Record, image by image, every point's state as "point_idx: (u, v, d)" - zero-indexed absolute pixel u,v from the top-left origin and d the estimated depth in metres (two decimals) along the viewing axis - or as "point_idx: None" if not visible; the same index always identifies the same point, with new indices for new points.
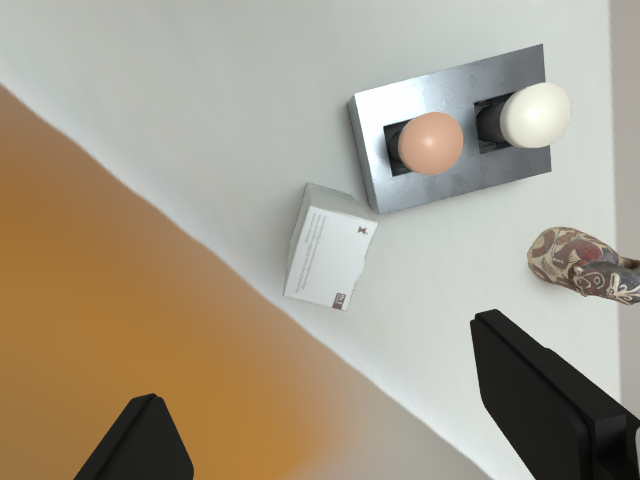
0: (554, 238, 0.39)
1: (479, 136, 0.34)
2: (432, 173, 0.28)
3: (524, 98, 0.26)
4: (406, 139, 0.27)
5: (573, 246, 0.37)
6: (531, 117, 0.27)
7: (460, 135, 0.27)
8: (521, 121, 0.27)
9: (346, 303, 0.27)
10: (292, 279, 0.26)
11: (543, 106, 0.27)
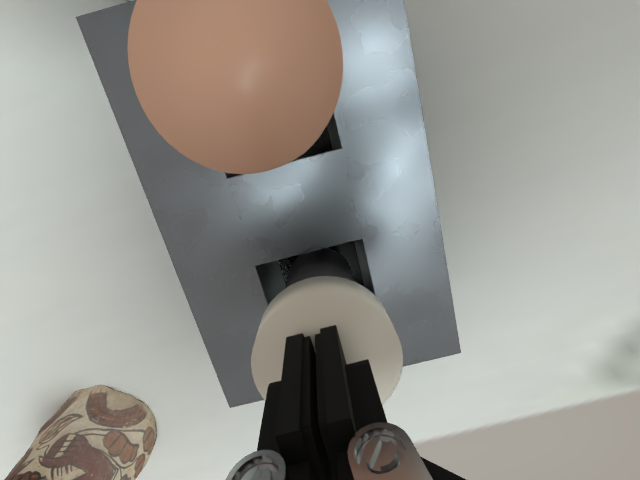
0: (123, 425, 0.21)
1: (296, 259, 0.17)
2: (134, 71, 0.08)
3: (368, 319, 0.10)
4: None
5: (92, 467, 0.19)
6: None
7: (269, 162, 0.08)
8: (313, 321, 0.10)
9: None
10: None
11: None
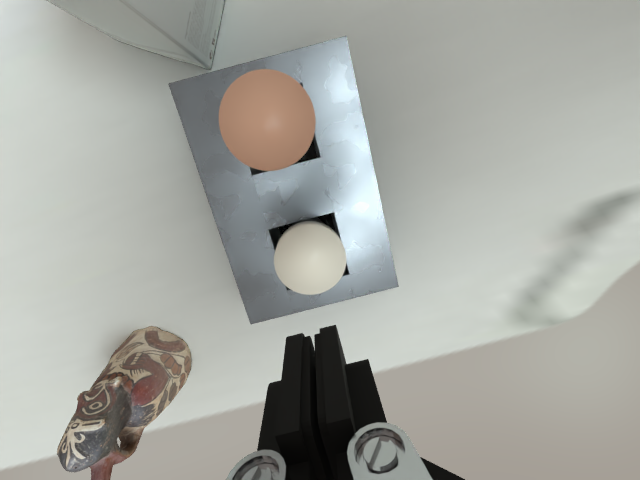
0: (171, 351, 0.30)
1: None
2: (221, 124, 0.17)
3: (329, 237, 0.22)
4: (272, 74, 0.17)
5: (156, 372, 0.28)
6: (308, 250, 0.22)
7: (281, 165, 0.18)
8: (303, 238, 0.22)
9: None
10: None
11: (320, 261, 0.23)
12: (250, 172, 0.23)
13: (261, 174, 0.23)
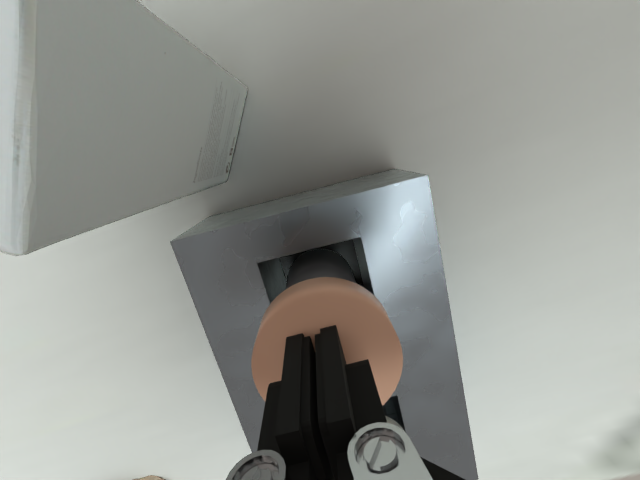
0: None
1: None
2: (255, 371, 0.11)
3: None
4: (339, 303, 0.10)
5: None
6: None
7: None
8: None
9: None
10: None
11: None
12: None
13: None
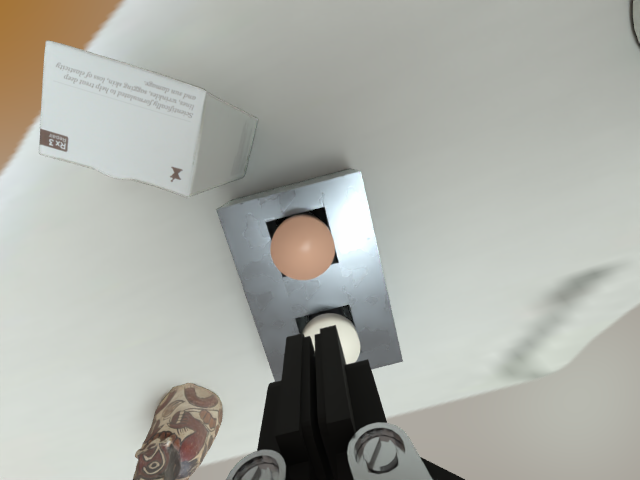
0: (208, 407, 0.35)
1: None
2: (271, 252, 0.25)
3: (346, 331, 0.27)
4: (306, 221, 0.25)
5: (197, 429, 0.33)
6: None
7: (311, 276, 0.26)
8: None
9: (52, 153, 0.17)
10: (80, 59, 0.16)
11: None
12: (281, 274, 0.28)
13: None
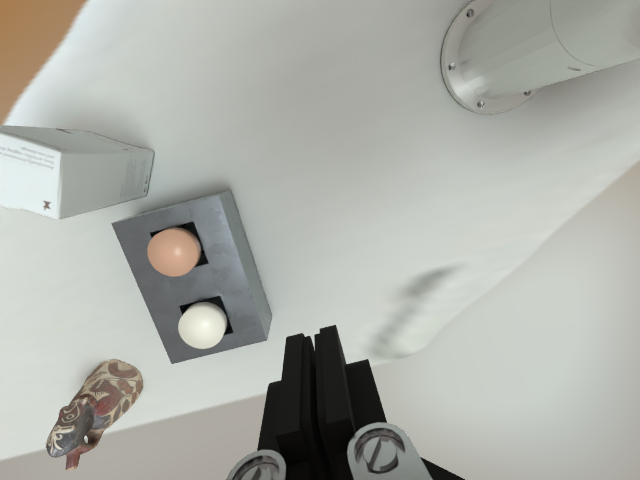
0: (126, 377, 0.44)
1: None
2: (148, 255, 0.34)
3: (211, 315, 0.36)
4: (172, 233, 0.34)
5: (112, 393, 0.42)
6: (199, 322, 0.36)
7: (180, 273, 0.35)
8: (195, 316, 0.36)
9: None
10: None
11: (207, 329, 0.37)
12: None
13: None
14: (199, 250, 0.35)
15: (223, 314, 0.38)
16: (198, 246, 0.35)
